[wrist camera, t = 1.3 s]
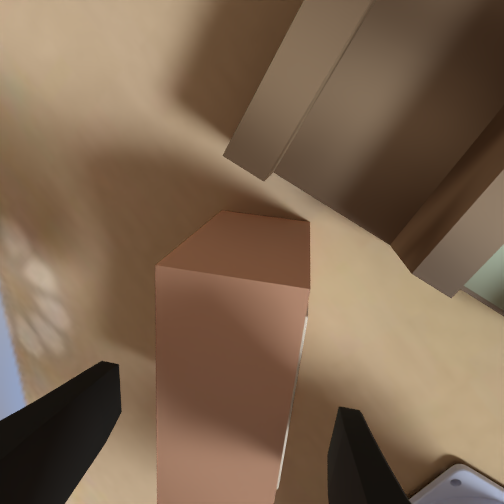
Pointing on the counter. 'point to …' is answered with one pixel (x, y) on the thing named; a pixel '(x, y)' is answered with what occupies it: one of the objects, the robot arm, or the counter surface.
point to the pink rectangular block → (229, 357)
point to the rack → (394, 129)
